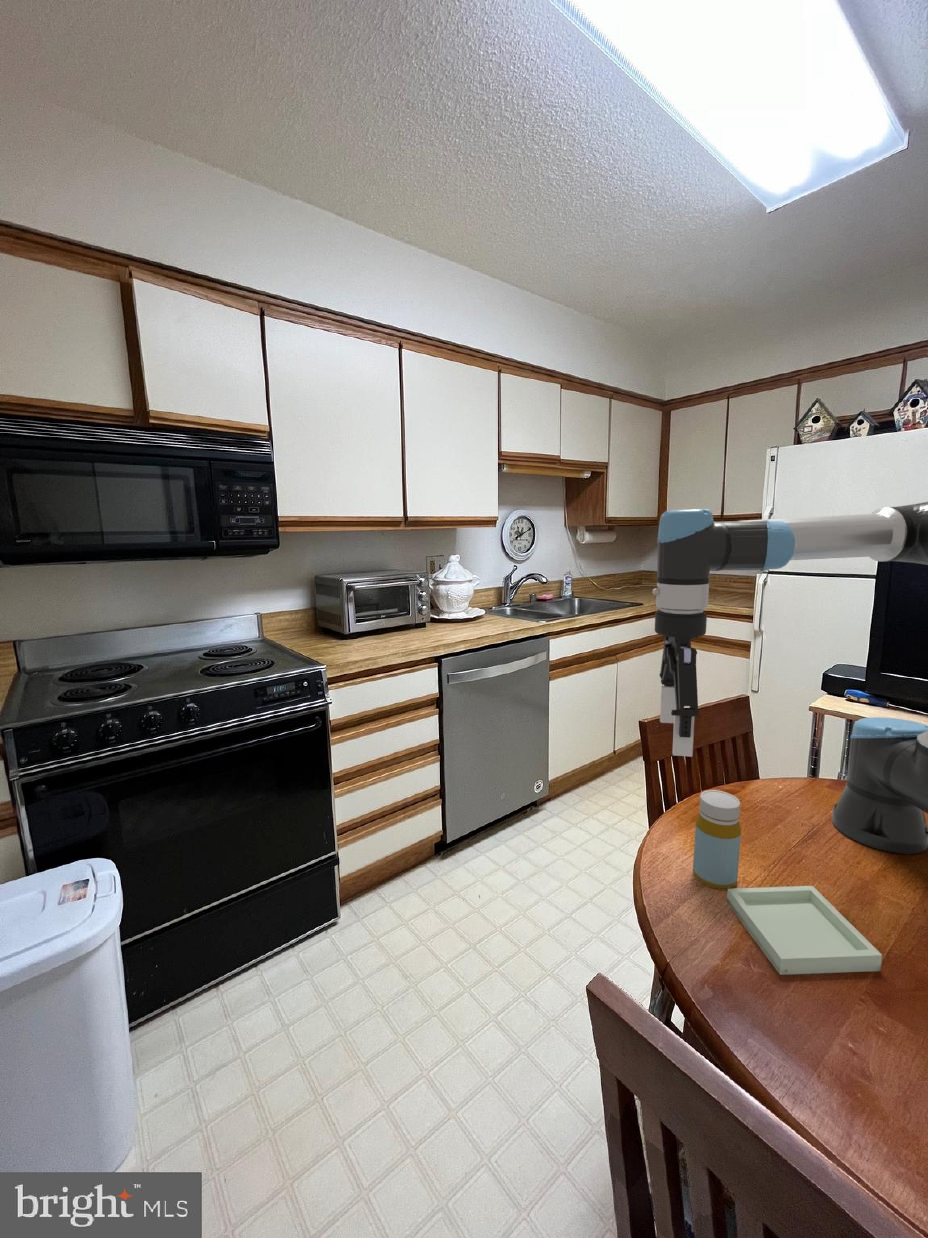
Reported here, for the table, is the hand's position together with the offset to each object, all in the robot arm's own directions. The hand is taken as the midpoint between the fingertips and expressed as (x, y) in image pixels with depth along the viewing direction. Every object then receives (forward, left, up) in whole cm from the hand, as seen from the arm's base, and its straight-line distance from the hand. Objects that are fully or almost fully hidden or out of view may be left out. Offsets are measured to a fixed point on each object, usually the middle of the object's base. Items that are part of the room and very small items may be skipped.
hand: (674, 737), depth 85 cm
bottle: (-9, -1, -27) cm, 29 cm away
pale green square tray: (-15, +12, -27) cm, 33 cm away
